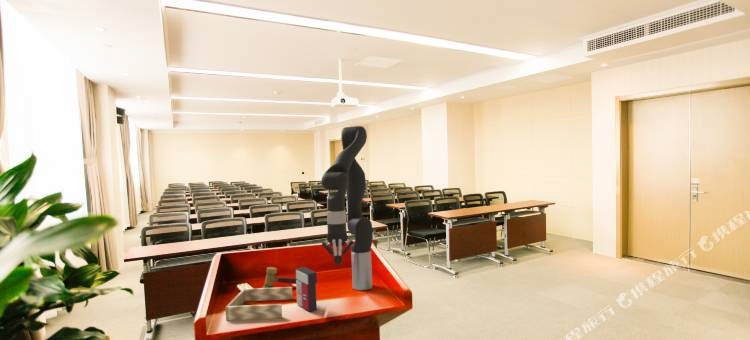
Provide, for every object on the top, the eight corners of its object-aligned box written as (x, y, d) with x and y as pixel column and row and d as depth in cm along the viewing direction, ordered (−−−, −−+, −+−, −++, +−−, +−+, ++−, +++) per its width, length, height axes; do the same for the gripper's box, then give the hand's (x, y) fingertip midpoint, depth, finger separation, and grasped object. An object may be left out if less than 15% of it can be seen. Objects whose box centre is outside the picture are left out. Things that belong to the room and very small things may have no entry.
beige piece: (292, 298, 163) (291, 286, 162) (281, 317, 143) (280, 304, 142) (243, 300, 162) (243, 288, 162) (226, 320, 142) (225, 307, 142)
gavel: (306, 291, 182) (310, 270, 183) (308, 294, 178) (312, 273, 179) (262, 288, 174) (266, 266, 175) (263, 291, 170) (267, 268, 171)
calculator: (295, 304, 155) (294, 268, 155) (305, 302, 158) (303, 266, 157) (308, 312, 147) (306, 274, 146) (318, 309, 149) (316, 272, 149)
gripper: (353, 219, 155) (355, 261, 156) (321, 220, 155) (323, 262, 156) (352, 222, 148) (354, 266, 148) (318, 224, 147) (320, 267, 148)
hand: (338, 264), depth 152 cm, fingers closed
